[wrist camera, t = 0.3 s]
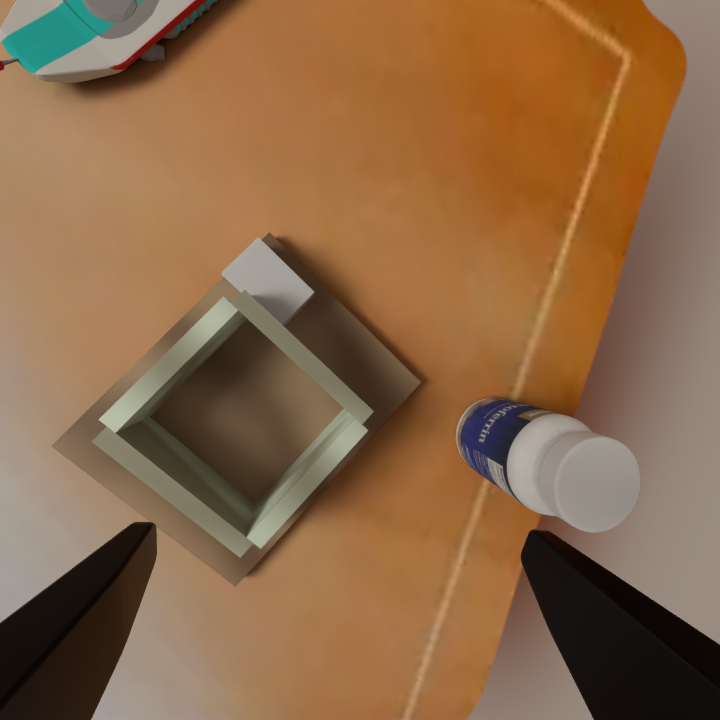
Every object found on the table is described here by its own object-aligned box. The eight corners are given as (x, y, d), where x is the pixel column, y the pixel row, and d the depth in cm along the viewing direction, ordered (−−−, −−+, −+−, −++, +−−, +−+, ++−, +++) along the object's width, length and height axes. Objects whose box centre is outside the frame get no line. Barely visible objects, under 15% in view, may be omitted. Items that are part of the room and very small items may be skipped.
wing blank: (280, 329, 22) (278, 328, 20) (227, 280, 21) (220, 273, 19) (312, 296, 22) (314, 292, 20) (261, 247, 22) (258, 237, 20)
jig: (238, 576, 23) (222, 638, 18) (62, 441, 21) (-10, 470, 16) (415, 381, 25) (445, 389, 20) (270, 237, 23) (263, 207, 18)
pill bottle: (498, 381, 26) (618, 402, 16) (534, 441, 27) (670, 495, 17) (438, 425, 25) (527, 475, 16) (477, 486, 26) (585, 569, 16)
